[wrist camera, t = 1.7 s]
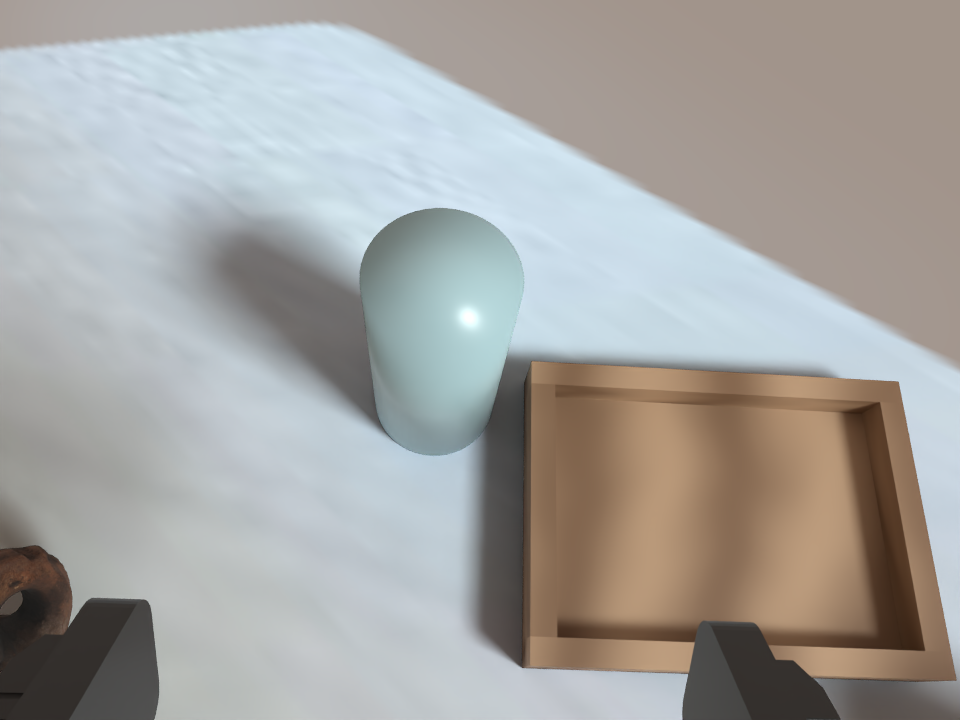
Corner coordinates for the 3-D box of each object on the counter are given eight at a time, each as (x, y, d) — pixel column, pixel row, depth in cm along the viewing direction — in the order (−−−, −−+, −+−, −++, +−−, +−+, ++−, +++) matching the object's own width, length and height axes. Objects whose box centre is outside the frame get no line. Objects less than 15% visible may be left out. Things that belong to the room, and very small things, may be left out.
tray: (521, 668, 31) (530, 665, 29) (524, 382, 36) (531, 361, 33) (917, 681, 32) (956, 680, 29) (868, 401, 36) (898, 381, 34)
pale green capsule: (370, 452, 34) (351, 347, 24) (380, 342, 36) (367, 202, 26) (491, 458, 34) (523, 357, 24) (494, 349, 36) (524, 213, 26)
